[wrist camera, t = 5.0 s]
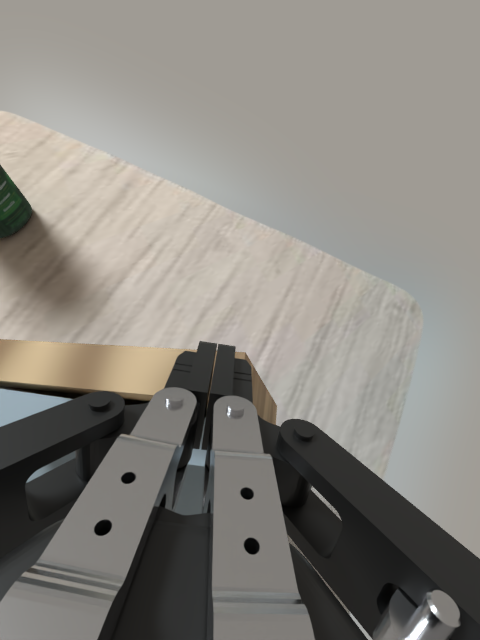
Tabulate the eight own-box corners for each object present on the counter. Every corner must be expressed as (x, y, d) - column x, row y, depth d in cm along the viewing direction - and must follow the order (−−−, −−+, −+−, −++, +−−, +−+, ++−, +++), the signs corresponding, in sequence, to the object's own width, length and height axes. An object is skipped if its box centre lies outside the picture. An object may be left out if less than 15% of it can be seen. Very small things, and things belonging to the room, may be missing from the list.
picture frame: (98, 413, 32) (-58, 375, 18) (105, 389, 32) (-38, 337, 19) (274, 433, 27) (239, 403, 14) (276, 405, 28) (245, 352, 15)
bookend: (5, 516, 32) (-331, 625, 12) (42, 413, 36) (-160, 366, 16) (251, 547, 33) (323, 693, 13) (261, 443, 37) (326, 434, 17)
